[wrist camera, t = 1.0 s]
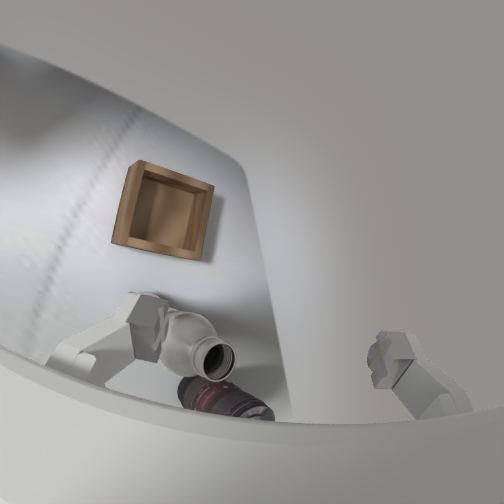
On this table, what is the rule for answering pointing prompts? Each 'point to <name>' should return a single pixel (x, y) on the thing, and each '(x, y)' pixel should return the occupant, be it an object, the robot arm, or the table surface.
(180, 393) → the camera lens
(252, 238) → the table surface
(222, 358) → the plastic bottle
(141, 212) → the open wooden box
